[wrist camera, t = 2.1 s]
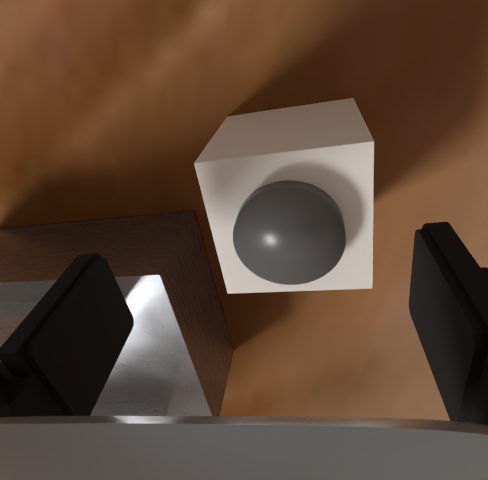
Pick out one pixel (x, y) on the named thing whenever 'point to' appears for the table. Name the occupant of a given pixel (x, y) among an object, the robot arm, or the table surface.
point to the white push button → (291, 198)
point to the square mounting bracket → (135, 306)
